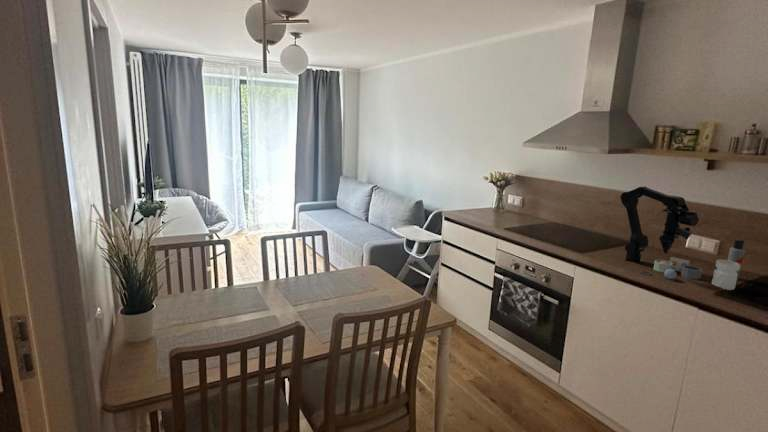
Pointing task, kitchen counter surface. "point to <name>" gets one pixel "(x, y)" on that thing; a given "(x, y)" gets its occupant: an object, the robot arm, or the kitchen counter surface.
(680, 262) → the dot card
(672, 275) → the ball slate
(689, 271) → the tube right
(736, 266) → the vase
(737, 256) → the lotion bottle
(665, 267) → the tube left
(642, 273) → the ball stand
